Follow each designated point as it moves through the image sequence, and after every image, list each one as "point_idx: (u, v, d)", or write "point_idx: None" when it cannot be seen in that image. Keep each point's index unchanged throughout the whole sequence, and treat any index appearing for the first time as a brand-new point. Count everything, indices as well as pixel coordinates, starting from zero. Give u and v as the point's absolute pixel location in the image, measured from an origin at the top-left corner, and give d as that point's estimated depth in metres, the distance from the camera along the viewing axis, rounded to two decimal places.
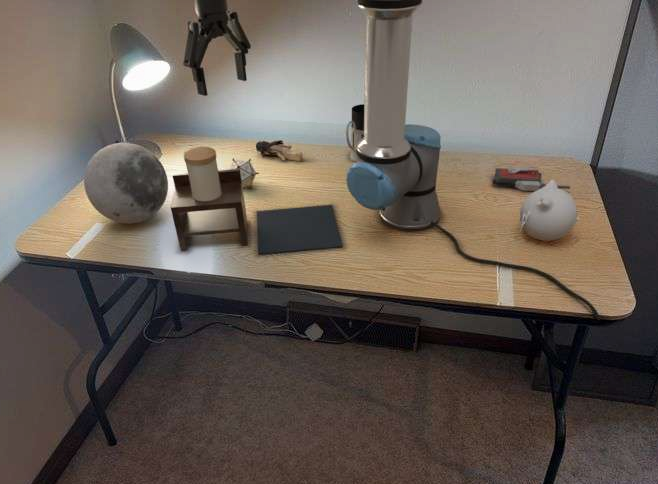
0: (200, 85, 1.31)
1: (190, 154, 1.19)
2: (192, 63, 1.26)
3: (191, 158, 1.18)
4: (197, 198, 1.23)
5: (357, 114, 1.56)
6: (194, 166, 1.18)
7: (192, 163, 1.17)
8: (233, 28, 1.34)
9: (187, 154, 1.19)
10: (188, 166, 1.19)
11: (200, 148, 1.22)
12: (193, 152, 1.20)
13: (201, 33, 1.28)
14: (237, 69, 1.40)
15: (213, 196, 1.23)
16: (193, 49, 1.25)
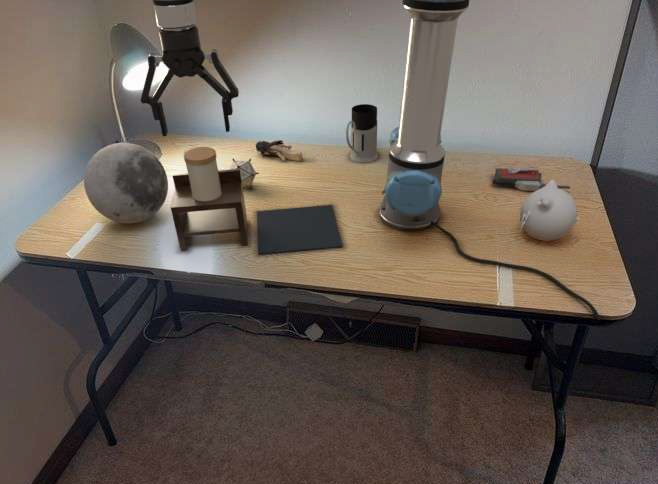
0: None
1: (190, 154, 1.19)
2: (144, 99, 1.11)
3: (191, 158, 1.18)
4: (197, 198, 1.23)
5: (357, 114, 1.56)
6: (194, 166, 1.18)
7: (192, 163, 1.17)
8: None
9: (187, 154, 1.19)
10: (188, 166, 1.19)
11: (200, 148, 1.22)
12: (193, 152, 1.20)
13: None
14: None
15: (213, 196, 1.23)
16: (145, 84, 1.10)
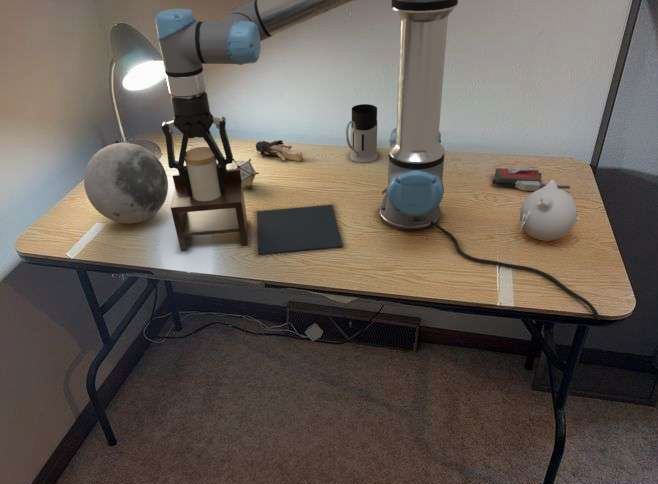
0: None
1: (190, 154, 1.19)
2: (171, 164, 1.19)
3: (191, 158, 1.18)
4: (197, 198, 1.23)
5: (357, 114, 1.56)
6: (194, 166, 1.18)
7: (192, 163, 1.17)
8: None
9: (187, 154, 1.19)
10: (188, 166, 1.19)
11: (200, 148, 1.22)
12: (193, 152, 1.20)
13: None
14: None
15: (213, 196, 1.23)
16: (168, 151, 1.17)
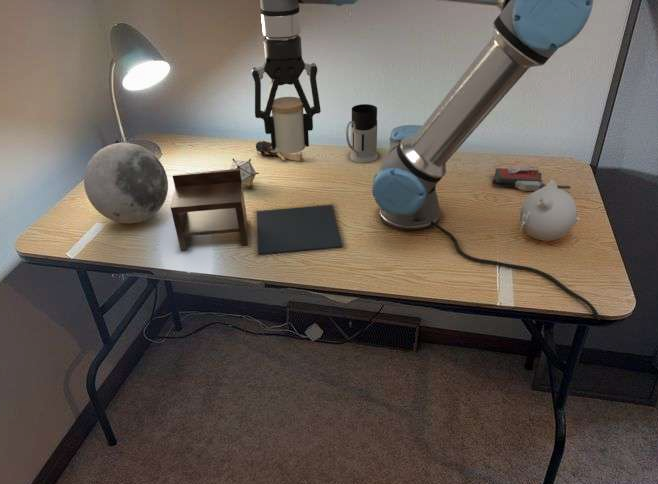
0: None
1: (277, 103, 1.15)
2: (258, 113, 1.15)
3: (280, 106, 1.13)
4: (282, 150, 1.19)
5: (357, 114, 1.56)
6: (282, 114, 1.14)
7: (281, 111, 1.13)
8: (310, 83, 1.14)
9: (274, 103, 1.15)
10: (275, 115, 1.15)
11: (286, 97, 1.17)
12: (280, 101, 1.16)
13: None
14: None
15: (299, 148, 1.19)
16: (256, 99, 1.13)
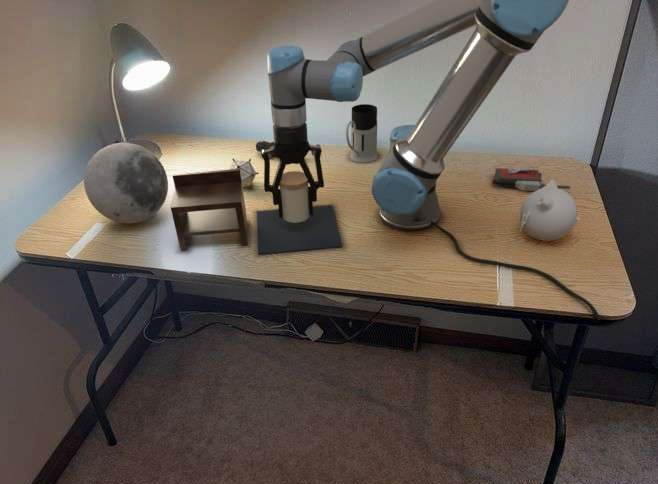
0: None
1: (284, 179, 1.26)
2: (267, 188, 1.26)
3: (287, 183, 1.24)
4: (288, 219, 1.30)
5: (357, 114, 1.56)
6: (289, 190, 1.25)
7: (288, 187, 1.24)
8: None
9: (282, 178, 1.26)
10: (283, 190, 1.26)
11: (292, 172, 1.29)
12: (287, 176, 1.27)
13: None
14: None
15: (304, 218, 1.30)
16: (265, 176, 1.24)
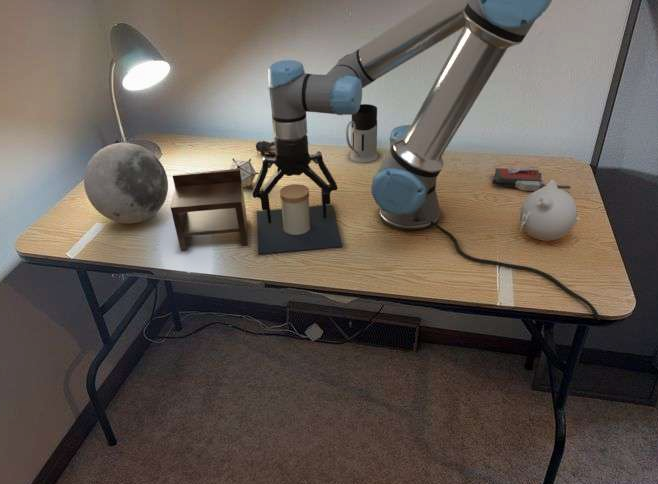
0: None
1: (285, 192, 1.28)
2: (256, 194, 1.26)
3: (288, 196, 1.26)
4: (289, 232, 1.32)
5: (357, 114, 1.56)
6: (290, 203, 1.27)
7: (289, 201, 1.26)
8: None
9: (283, 191, 1.28)
10: (284, 203, 1.28)
11: (293, 185, 1.31)
12: (288, 190, 1.29)
13: (279, 167, 1.26)
14: None
15: (304, 230, 1.32)
16: (258, 182, 1.25)
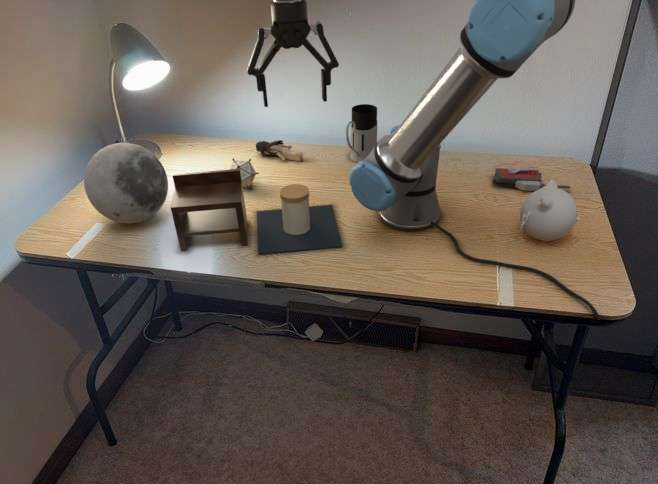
0: (263, 94, 1.22)
1: (285, 192, 1.28)
2: (251, 70, 1.17)
3: (288, 196, 1.26)
4: (289, 232, 1.32)
5: (357, 114, 1.56)
6: (290, 203, 1.27)
7: (289, 201, 1.26)
8: None
9: (283, 191, 1.28)
10: (284, 203, 1.28)
11: (293, 185, 1.31)
12: (288, 190, 1.29)
13: (276, 40, 1.16)
14: None
15: (304, 230, 1.32)
16: (254, 56, 1.15)
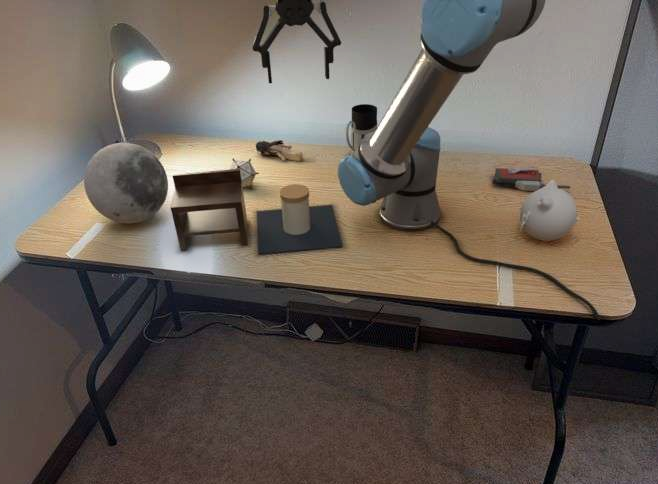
0: None
1: (285, 192, 1.28)
2: (256, 47, 1.21)
3: (288, 196, 1.26)
4: (289, 232, 1.32)
5: (357, 114, 1.56)
6: (290, 203, 1.27)
7: (289, 201, 1.26)
8: None
9: (283, 191, 1.28)
10: (284, 203, 1.28)
11: (293, 185, 1.31)
12: (288, 190, 1.29)
13: (280, 18, 1.20)
14: None
15: (304, 230, 1.32)
16: (259, 33, 1.20)
